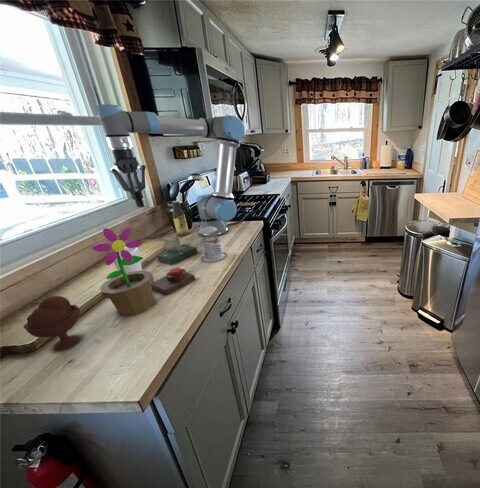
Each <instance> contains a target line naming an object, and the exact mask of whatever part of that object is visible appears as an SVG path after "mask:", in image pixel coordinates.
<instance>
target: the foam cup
mask: <svg viewBox="0 0 480 488" xmlns="http://www.w3.org/2000/svg"><path fill="white" fill-rule="evenodd" d="M124 250H127V251H129V252H130V254H131V255H132V256H134V255H135V256H139V257H141V255H140V253H141V252H140V249H139V247H137V248H128V247H125V248H124ZM112 251H113V250H111V251H110V252H112ZM119 254H120V251H119ZM120 258H121V260H122V259H123V258H122V257H121V255H120ZM141 260H142V259H141ZM141 260H140V261H139V262H137V263H135V264H132V265H123V267H124V270H125V273H128V272H133V271H143V267H142V261H141ZM112 264H113V265H114V266H115V268H116V269H117V270H121V269H120V267H119V264H118V261H117V258H116V260H115V261H114V262H113V263H112Z"/></svg>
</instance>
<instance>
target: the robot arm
mask: <svg viewBox="0 0 480 488" xmlns="http://www.w3.org/2000/svg"><path fill="white" fill-rule="evenodd" d="M96 111H97V114H98V119H99V121H100V124H101V126H102V129H103V133H104V135H105V137H106V141H107V144H108V147H109V148H110V154H111V156H112V159H113V160H114V163H113V167H111V168H109V172H110V173H112V175H113V176H114V177H115V179H116V180H117V182H118V183H119V185H120V187H121V188H122V190H123V191H124V192H129V193H130V196H131V199H132V200H134V201H135V204H136V207H137V208H143V207H145V204H144V201H143V199H144V194H143V190H144V189H146V172H145V171H146V168H147V166H146V165H145V164H141V163H140V162H139V160H138V159H137V156H136V152H135V149H134V148H133V143H132V140H131V136H130V134H157V135H158V134H160V135H179V136H180V135H181V136H200V137H201V138H202V139H212V140H215V141H216V143H217V144H218V150H217V163H216V173H215V184H214V191H213V192H211V193H205V194H201V195H197V196H196V197H195V203H196V206H197V210H198V214H199V218H200V226H199V230H201V229H202V228H204V227H209V226H211V227H215V228H217V231H215V232H213V233H210V234H200V236H201V237H208V236H217V237H218V236H222V235H224V234H226V233H227V232H228V230H229V229H228V226H232V225H235V224H239V223H241V222H242V221H244V219H246V218H247V216H248V215H250V214H253V213H256V212H257V211H263V209H262V208H257V209H256V210H253V211H251V212H248V213H247V214H245V215H244V217H243V218H242V219H240V220H239V221H236V222H235V221H234V222H231V223H228V224H226V223H225V222H228V221H231V220H232V219H234V218H235V217H236V215H237V213H238V207H237V205H236V203H235V196H234V195H233V185H234V184H233V183H234V174H235V165H236V156H237V149H238V148H240V146H241V141H242V140H243V139H244V138H245V136H246V126H245V124H244V122H243V121H242V120H241V119H240V117H238V116H236V115H230V114H228V115H227V114H226V115H223V116H222V115H221V116H215V117H206V118H205V117H204V118H203V117H200V118H198V119H194V118H193V119H192V118H181V117H169V116H158V114H157V113H155V112H154V111H126V110H123V109H122V107H121V106H120V105H118V104H111V103H110V104H105V103H103V104H98V105H97V106H96ZM137 170H138V171H137ZM121 173H122V174H121ZM201 207H205V209H203V210H204V212H203V210H201ZM204 214H205V217H204ZM205 219H206V221H205ZM206 223H207V225H206Z"/></svg>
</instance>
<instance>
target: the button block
mask: <svg viewBox="0 0 480 488" xmlns="http://www.w3.org/2000/svg"><path fill="white" fill-rule="evenodd" d="M181 271H182V273H181V274H179V275H176V276H171V275H170V272H169V271H168V272H167V273H166V274H165V276H163V277H161V278H159V279H156V280H154V281H153V282H152V284H151V287H152V290H154V291H157V292H159V293H161V294H164V295H167V296H168V295H169V294H171V293H173V292H175V291H177V290H179V289H180V288H182V287H184V286H186V285H187V284H190V283H192V282H194V281H195V280H196V277H195V274H192V273H189V272H187V270H186V269H185V268H181Z"/></svg>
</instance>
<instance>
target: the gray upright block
mask: <svg viewBox="0 0 480 488" xmlns="http://www.w3.org/2000/svg"><path fill="white" fill-rule="evenodd" d="M163 241H164V245H165V248H166V251H167V252H173V253H180V252H182V248H181V245H182V244H181V241H180V238H179V237H177V236H176V237H175V236H174V237H173V236H166V237H164V238H163Z"/></svg>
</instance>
